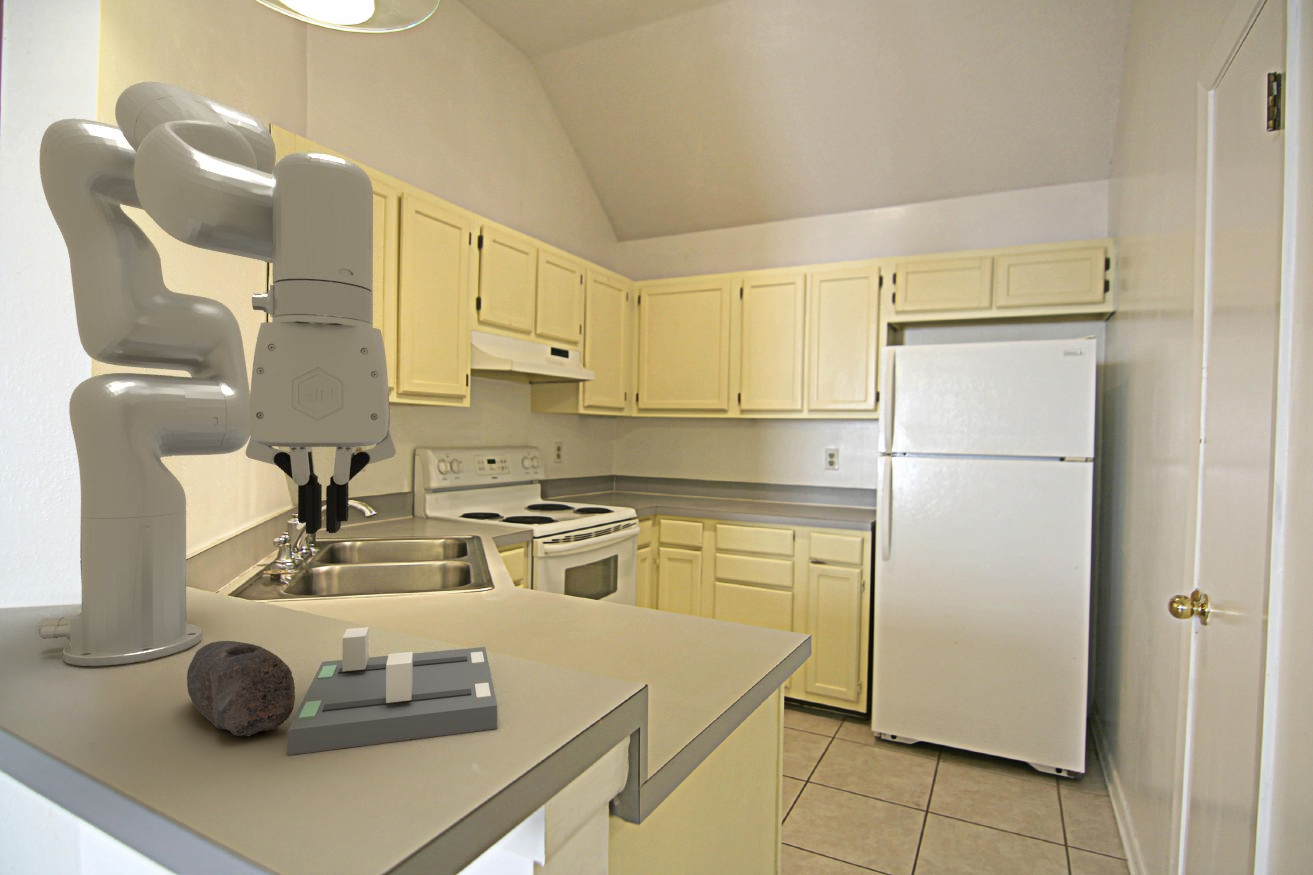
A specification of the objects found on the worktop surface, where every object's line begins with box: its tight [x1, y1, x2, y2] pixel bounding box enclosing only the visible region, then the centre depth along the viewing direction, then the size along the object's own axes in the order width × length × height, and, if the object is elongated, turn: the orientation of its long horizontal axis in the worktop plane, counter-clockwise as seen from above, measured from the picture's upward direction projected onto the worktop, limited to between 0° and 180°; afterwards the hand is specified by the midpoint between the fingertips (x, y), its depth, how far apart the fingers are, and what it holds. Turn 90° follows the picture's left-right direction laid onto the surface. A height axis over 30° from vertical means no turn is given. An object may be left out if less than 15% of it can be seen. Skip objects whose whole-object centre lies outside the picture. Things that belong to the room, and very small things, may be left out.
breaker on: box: [342, 626, 370, 671], centre depth 65 cm, size 2×3×3 cm, turn 18°
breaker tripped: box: [386, 651, 414, 703], centre depth 58 cm, size 2×3×3 cm, turn 18°
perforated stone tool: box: [186, 640, 296, 737], centre depth 59 cm, size 15×5×7 cm, turn 51°
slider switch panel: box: [287, 646, 498, 756], centre depth 62 cm, size 16×16×2 cm
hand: (323, 530), depth 56 cm, fingers closed
